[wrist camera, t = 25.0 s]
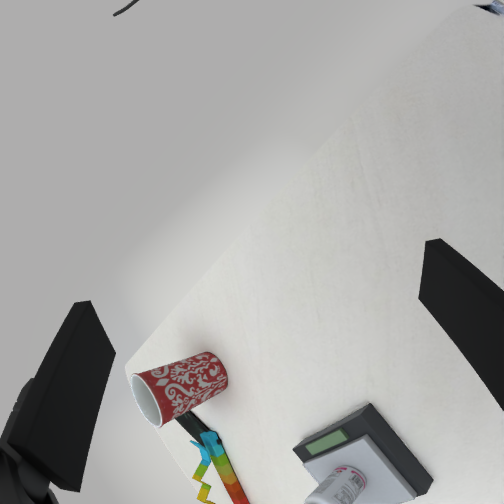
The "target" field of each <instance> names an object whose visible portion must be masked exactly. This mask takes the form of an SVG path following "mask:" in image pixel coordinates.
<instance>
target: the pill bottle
mask: <svg viewBox="0 0 504 504" xmlns="http://www.w3.org/2000/svg"><path fill="white" fill-rule="evenodd" d="M365 486H366V479H365V477H364V476H363V474H362V473H361V472H359V471H358V470H356V469H354V468H352V467H349V466H340V467H337V468H336V469H335V470H333V471H332V473H331V474H330V475H329V476H328V477H327V478H326V479H325V480H324V481H323V482H322V483H321V484H320V485H319V486H318V487H317V488H316V489H315V490H314V491H313V492H312V493H311V494H310V495H309V496H308V497H307V498H306V500H305V503H304V504H352V503H353V502H354V501H355V500H356V499H357V497H358V496H359V495H360V494H361V492H362V491H363V490H364V488H365Z"/></svg>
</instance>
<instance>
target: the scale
mask: <svg viewBox="0 0 504 504" xmlns="http://www.w3.org/2000/svg"><path fill="white" fill-rule="evenodd" d="M292 450H293V451H294V452H295V453H296V454H297V456H298V457H299V458H300V459H301V461H302V462H303V464H302V465H303V466H304V467H305V468H306V470H307V471H308V472H309V473H310V474H311V475H312V477H313V478H314V479H315V480H316V481H317V482H318V484H319V485H320V484H321V483H322V482H323V481H324V480H325V479H326V478H327V477H328V476H329V475H330V474H331V473H332V471H333V470H335V469H336V468H337V467H340V466H349V467H352V468H354V469H356V470H358V471H359V472H361V473H362V474H363V476H364V477H365V479H366V486H365V488H364V490H363V491H362V492H361V494H360V495H359V496H358V497H357V499H356V500H355V501H354V502H353V503H352V504H400V503H404V502H407V501H410V500H414V499H415V497H418V496H421V495H424V494H426V493H427V491H428V489H429V488H430V486H431V484H432V482H433V479H432V478H431V477H430V475H429V474H428V473H427V472H426V470H425V469H424V468H423V467H422V466H421V464H420V463H419V462H418V461H417V459H416V458H415V457H414V456H413V455H412V453H411V452H410V451H409V450H408V448H407V447H406V446H405V445H404V444H403V442H402V441H401V440H400V439H399V437H398V436H397V435H396V434H395V433H394V431H393V430H392V429H391V428H390V426H389V425H388V424H387V423H386V422H385V420H384V419H383V418H382V417H381V415H380V414H379V413H378V412H377V411H376V409H375V408H374V407H373V406H372V404H371V403H370V404H368V405H366V406H365V407H363V408H361V409H360V410H358V411H356V412H354V413H353V414H351V415H349V416H348V417H346V418H344V419H342V420H340V421H339V422H337V423H335V424H333V425H331V426H329V427H328V428H326V429H324V430H322V431H320V432H318V433H316V434H314V435H312V436H310V437H308V438H306V439H304V440H302V441H301V442H300V443H299V444H298V445H297V446H295V447H294V448H293V449H292Z"/></svg>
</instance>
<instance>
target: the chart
mask: <svg viewBox="0 0 504 504" xmlns="http://www.w3.org/2000/svg"><path fill="white" fill-rule="evenodd" d="M200 436H201V438H202V440H203V442H204V444H205V447H206V448H205V447H203V446H202V445H200V444H199V443H197V442H194V441H190V442H191V443H193V444H194V445H195V446H197V447H198V448H200V453H201V456H202V461H201V463H200V465H199V466H198V468H197V470H196V472H195V473H194V475H193V477H192V478H193V479H195V480H197V481H199V482H201V483H203V484H202V486H201V489H200V491H199V494H198V497H197V499H198V500H200V501H202V502H204V503H207V504H215V503H213V502H211V501H208V500H206V499H207V496H208V494H209V491H210V488H211V486H210V485H208V484H206V483H204V482H202V481H201V479H202V477H203V475H204V474H205V472H206V470H207V468H208V466H209V465H210V463H211V460H212V462H213V464H214V466H215V468H216V470H217V472H218V474H219V476H220V478H221V480H222V482H223V484H224V486H225V488H226V490H227V492H228V494H229V496H230V497H231V499H232V501H233V503H234V504H249V502H248V500H247V498H246V496H245V494H244V492H243V490H242V489H241V486H240V484H239V482H238V480H237V478H236V476H235V474H234V472H233V470H232V467H231V465H230V463H229V461H228V459H227V457H226V454H225V452H224V450H223V448H222V446H221V444H220V445H218V444H217V442H216V440H217V439H218V437H217V434H216V432H212V431H209V432H203V433H201V434H200ZM210 457H211V459H210Z"/></svg>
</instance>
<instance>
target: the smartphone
mask: <svg viewBox="0 0 504 504" xmlns="http://www.w3.org/2000/svg"><path fill="white" fill-rule="evenodd" d="M175 419H176V420H177V421H178V422H179V424H180V425H181V426H182V427H183V428H184V429H185V430H186V431H187V432H188V433H189V434H190V435H191V436H192V437H193V438H194V439H195V440H196V441H197V442H199V443H200V444H201V445H202V446H203V447H205V444H204V442H203V440H202V438H201V436H200V434H201V433H203V432H209V430H208V429H207V428H206V427H205V426H204V425H203V424H202V423H201V422H200V421H199V420H198V419H197V418H196V417H195V416H194V415H192V414H191V413H190V412H189V411H187V412H185V413H184V414H182V415H180V416H178V417H176V418H175ZM216 442H217V444H218V445H220V444H221V441H220V440H219V439H217V440H216ZM205 448H206V447H205Z"/></svg>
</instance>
